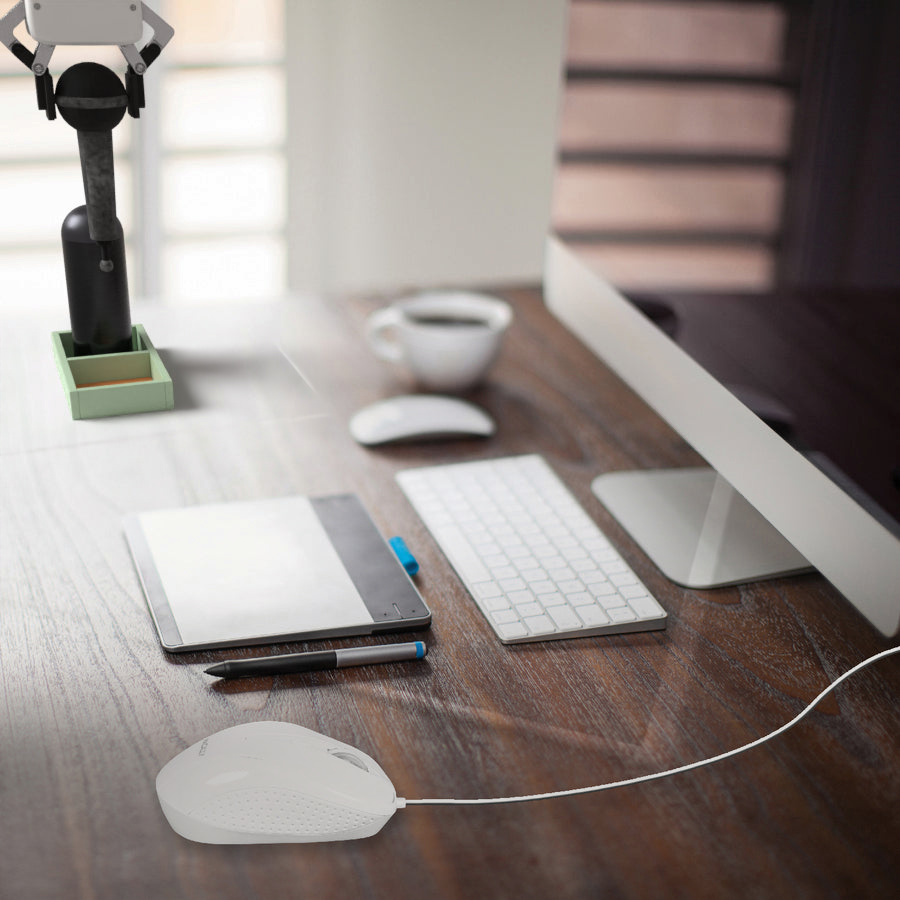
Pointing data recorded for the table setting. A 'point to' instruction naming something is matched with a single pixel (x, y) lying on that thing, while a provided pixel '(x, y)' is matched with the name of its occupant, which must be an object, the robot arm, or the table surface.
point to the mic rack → (113, 378)
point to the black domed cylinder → (95, 290)
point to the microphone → (95, 141)
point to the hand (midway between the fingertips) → (93, 115)
